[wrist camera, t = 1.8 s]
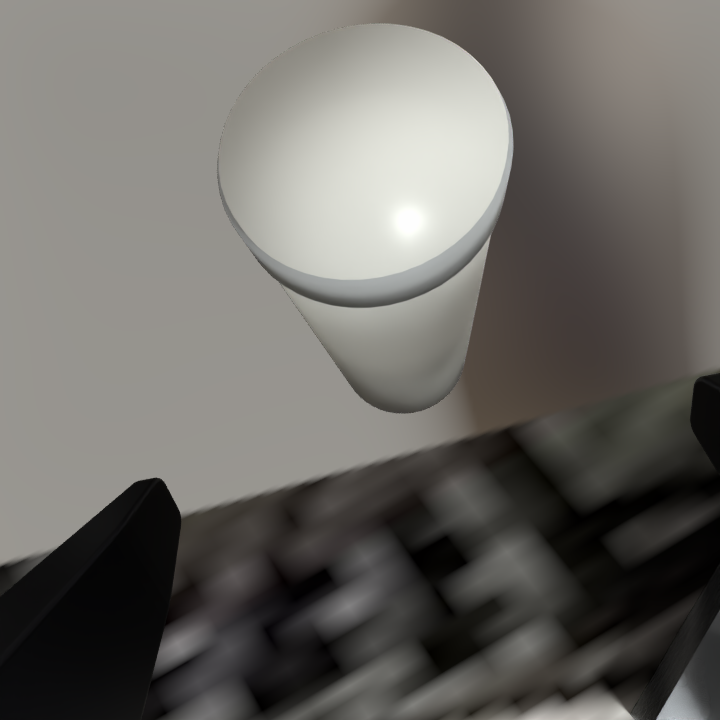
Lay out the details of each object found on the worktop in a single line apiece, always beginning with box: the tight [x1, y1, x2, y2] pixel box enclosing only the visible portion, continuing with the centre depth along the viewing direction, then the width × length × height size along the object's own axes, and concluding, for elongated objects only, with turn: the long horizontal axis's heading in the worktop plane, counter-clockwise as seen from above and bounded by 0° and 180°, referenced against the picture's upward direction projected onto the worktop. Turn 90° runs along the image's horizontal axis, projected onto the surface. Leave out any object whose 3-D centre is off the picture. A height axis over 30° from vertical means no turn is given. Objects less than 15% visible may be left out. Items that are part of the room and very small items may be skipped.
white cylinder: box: [218, 23, 513, 413], centre depth 15 cm, size 5×5×13 cm
